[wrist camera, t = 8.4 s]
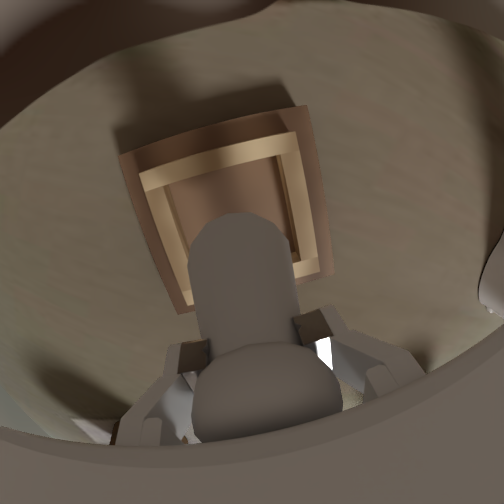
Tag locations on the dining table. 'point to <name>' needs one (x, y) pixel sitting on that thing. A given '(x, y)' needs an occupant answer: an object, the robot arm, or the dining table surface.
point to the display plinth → (231, 191)
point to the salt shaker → (252, 334)
